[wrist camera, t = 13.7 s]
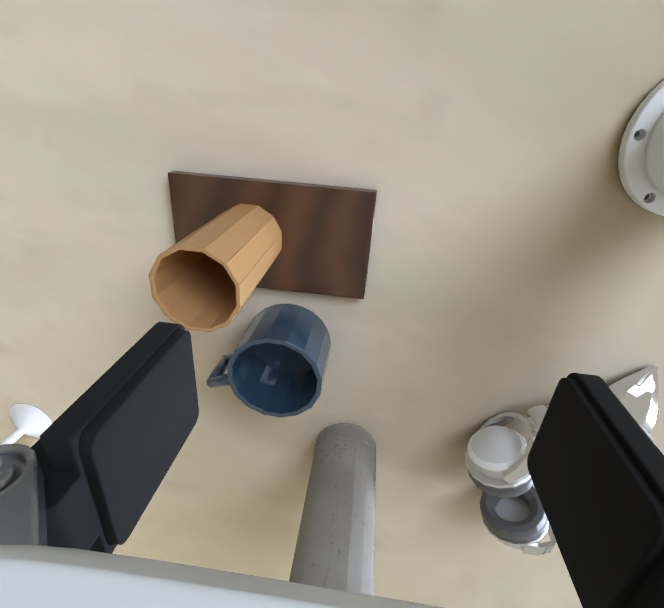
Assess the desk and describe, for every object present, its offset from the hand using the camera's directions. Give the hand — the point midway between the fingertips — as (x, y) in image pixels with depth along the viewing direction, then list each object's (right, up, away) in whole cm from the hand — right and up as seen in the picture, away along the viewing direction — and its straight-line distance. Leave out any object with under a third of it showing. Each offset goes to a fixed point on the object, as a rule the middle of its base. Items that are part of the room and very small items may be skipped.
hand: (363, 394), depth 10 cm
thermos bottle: (+1, -17, +43) cm, 46 cm away
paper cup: (-9, +9, +29) cm, 32 cm away
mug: (-7, -2, +36) cm, 37 cm away
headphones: (+27, -16, +39) cm, 50 cm away
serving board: (-7, +9, +30) cm, 32 cm away
